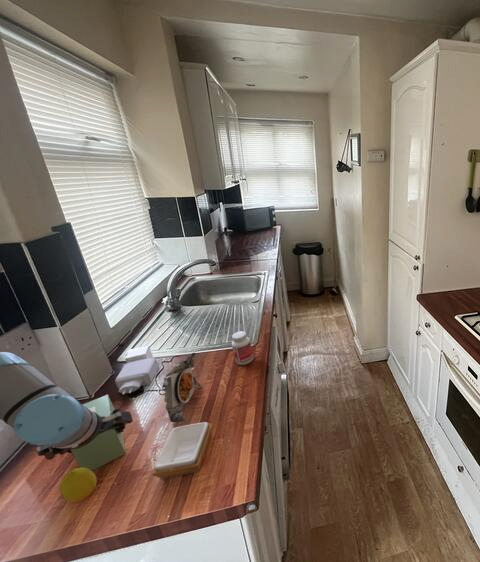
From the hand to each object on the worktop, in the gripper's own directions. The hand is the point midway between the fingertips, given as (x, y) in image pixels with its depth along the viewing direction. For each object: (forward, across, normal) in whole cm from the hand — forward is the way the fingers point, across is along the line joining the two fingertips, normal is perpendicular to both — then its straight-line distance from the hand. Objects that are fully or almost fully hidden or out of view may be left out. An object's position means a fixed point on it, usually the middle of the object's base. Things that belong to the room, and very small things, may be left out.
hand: (99, 437), depth 78 cm
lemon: (-7, -4, -12) cm, 15 cm away
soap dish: (-10, +16, -16) cm, 25 cm away
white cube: (+27, +13, +22) cm, 37 cm away
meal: (+4, +20, -2) cm, 21 cm away
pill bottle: (+10, +41, +5) cm, 43 cm away
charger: (+19, +10, +14) cm, 26 cm away
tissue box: (+3, 0, -2) cm, 4 cm away
